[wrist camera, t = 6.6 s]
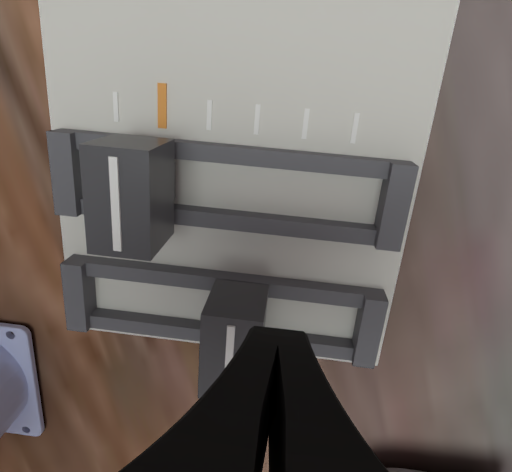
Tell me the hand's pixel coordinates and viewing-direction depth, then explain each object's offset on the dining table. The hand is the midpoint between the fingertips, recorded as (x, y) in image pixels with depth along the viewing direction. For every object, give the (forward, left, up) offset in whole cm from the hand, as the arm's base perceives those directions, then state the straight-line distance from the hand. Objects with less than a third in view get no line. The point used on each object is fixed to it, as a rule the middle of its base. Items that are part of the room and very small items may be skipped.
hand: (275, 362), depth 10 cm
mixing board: (-3, +2, -10) cm, 11 cm away
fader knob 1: (-6, +2, -9) cm, 11 cm away
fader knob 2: (-2, -4, -9) cm, 10 cm away
